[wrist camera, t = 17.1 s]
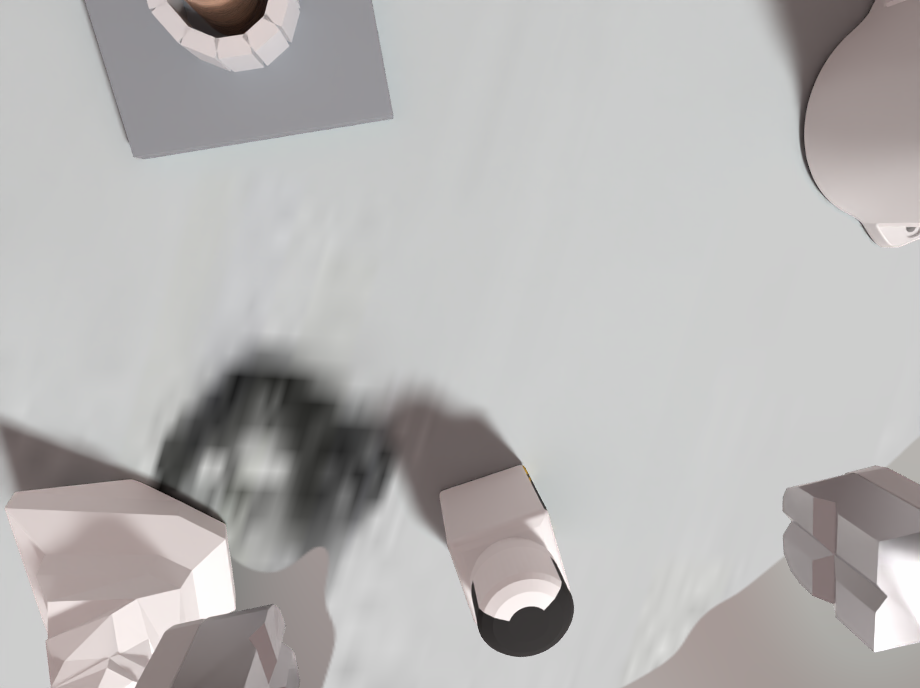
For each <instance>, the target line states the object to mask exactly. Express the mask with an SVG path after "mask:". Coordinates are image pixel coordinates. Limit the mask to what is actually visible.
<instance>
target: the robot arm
mask: <svg viewBox="0 0 920 688" xmlns="http://www.w3.org/2000/svg"><path fill="white" fill-rule="evenodd" d="M804 142H805V151H806V157H807V161H808V165H809V168H810V171H811V174H812V176H813V178H814V180H815V182H816V184H817V186H818V187H819V189H820V190H821V192H822V193H823V194H824V196H825V197H826V198H827V199H828V200H829V201H830V202H831V203H832V204H833V205H835V206H836V207H837V208H839V209H840V210H842V211H844V212H845V213H847V214H849V215H851V216H853V217H854V218H856V219H857V220H859V221H860V222H861V223H862V224H863V225H864V227H865V229H866V230H867V232H868V234H869V235H870V237H871V238H872V239H873V241H874V242H875V243H876V244H877V245H878V246H880V247H883V248H894V247H901V246H904V245H906V244H908V243H911V242H913V241H916V240H918V239H920V0H875V2H874V4H873V6H872V8H871V10H870V12H869V14H868V15H867V16H866V18H865V19H864V20H863V21H862V22H861V23H860V24H859V25H858V26H857V27H856V28H855V29H854V30H853V31H852V32H851V33H850V34H849V35H847V36H846V37H845V38H844V39H843V40H842V42H841V43H840V44H839V45H838V46H837V47H836V48H835V50H834V51H833V52H832V54H831V55H830V56H829V58H828V59H827V61H826V62H825V64H824V66H823V68H822V69H821V71H820V73H819V75H818V77H817V79H816V82H815V84H814V86H813V89H812V92H811V95H810V99H809V102H808V106H807V111H806V117H805V127H804ZM906 227H907V229H906ZM783 512H784V513H785V514H786V515H787V516H788V518H789V519H790V520H791V523H790V524H789V526H788V528H787V529H786V531H785V533H784V534H783V547H784V555H785V558H786V560H787V562H788V565H789V567H790V570H791V572H792V573H793V575H794V576H795V577H796V579H797V580H798V581H799V583H800V584H801V585H802V586H803V587H804V588H805V589H806V590H807V591H808V592H809V593H810V594H811V595H812V596H815V597H817V598H820V599H822V600H825V601H828V602H830V603H832V604H834V610H835V616H836V618H837V619H838V620H839V621H841V622H842V623H843V624H844V625H845V626H846V627H847V628H848V629H849V630H850V631H851V632H852V633H854V634H855V635H856V636H857V637H858V638H859V639H860V640H861V641H862V642H864V644H866V645H867V646H868V647H869V648H870V649H871V650H872V651H873V652H877V651H882V650H886V649H891V648H895V647H900V646H904V645H909V644H913V643H918V642H920V484H918V483H916V482H914V481H912V480H910V479H908V478H906V477H904V476H902V475H901V474H899V473H897V472H895V471H893V470H891V469H889V468H886V467H880V466H871V467H868V468H864V469H860V470H856V471H852V472H848V473H845V474H844V475H841V476H837V477H832V478H828V479H824V480H819V481H815V482H811V483H806V484H802V485H798V486H793V487H789V488H787V489H786V491H785V493H784V496H783ZM285 627H286V625H285V622H284V619H283V616H282V614H281V611H280V608H279V607H277V606H276V605H274V604H271V605H267V606H262V607H257V608H252V609H247V610H242V611H237V612H232V613H227V614H222V615H217V616H212V617H208V618H207V619H199V620H194V621H190V622H185V623H181V624H176V625H173V626H172V627H170V628H169V629H167V630H166V631H165V632H164V634H163V636H162V638H161V640H160V641H159V643H158V645H157V647H156V649H155V651H154V652H153V654H152V656H151V658H150V660H149V662H148V664H147V665H146V667H145V669H144V671H143V673H142V675H141V677H140V678H139V680H138V682H137V684H136V686H135V688H300V679H299V672H298V665H297V661H296V658H295V654H294V651H293V649H291V648H290V647H288V646H287V645H285V644H284V643H283V642H282V639H283V635H284V631H285Z"/></svg>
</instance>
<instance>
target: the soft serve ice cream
mask: <svg viewBox="0 0 920 688" xmlns="http://www.w3.org/2000/svg"><path fill="white" fill-rule="evenodd" d="M5 511H6V514H7V517H8V520H9V523H10V526H11V529H12V531H13V534H14V537H15V540H16V543H17V546H18V549H19V552H20V555H21V558H22V561H23V564H24V567H25V570H26V573H27V576H28V579H29V582H30V584H31V587H32V590H33V593H34V596H35V599H36V602H37V605H38V608H39V611H40V614H41V617H42V620H43V623H44V625H45V628H46V630H47V632H48V639H47V640H46V649H47V657H48V666H49V674H50V682H51V688H135V686H136V684H137V682H138V680H139V678H140V677H141V675H142V673H143V671H144V669H145V667H146V665H147V664H148V662H149V660H150V658H151V656H152V654H153V652H154V651H155V649H156V647H157V645H158V643H159V641H160V640H161V638H162V636H163V634H164V632H165V631H166V630H167V629H169V628H170V627H172V626H173V625H176V624H181V623H185V622H190V621H194V620H199V619H207V618H208V617H212V616H217V615H222V614H227V613H229V612H232V611H234V610H235V586H234V579H233V572H232V565H231V558H230V550H229V543H228V536H227V529H226V524H224V523H222V522H220V521H218V520H216V519H214V518H212V517H210V516H208V515H206V514H204V513H202V512H200V511H198V510H196V509H194V508H192V507H190V506H188V505H186V504H185V503H183V502H181V501H178V500H176V499H174V498H172V497H170V496H168V495H166V494H164V493H162V492H160V491H158V490H156V489H154V488H152V487H150V486H148V485H146V484H143V483H141V482H139V481H136V480H133V479H128V480H119V481H109V482H100V483H91V484H82V485H73V486H64V487H55V488H46V489H37V490H28V491H19V492H14V494H13V496H12V497H11V499H10V500H9V502H8V504H7V505H6V507H5Z"/></svg>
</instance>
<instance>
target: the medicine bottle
mask: <svg viewBox="0 0 920 688" xmlns="http://www.w3.org/2000/svg"><path fill="white" fill-rule="evenodd" d="M439 497H440V503H441V509H442V515H443V521H444V527H445V534H446V540H447V546H448V549H449V552H450V554H451V557H452V560H453V563H454V566H455V569H456V571H457V574H458V577H459V580H460V583H461V585H462V588H463V591H464V594H465V597H466V600H467V602H468V605H469V608H470V611H471V614H472V616H473V619H474V621H475V623H476V624H477V625H478V629H479V632H480V634H481V637H482V638H483V640H484V641H485V642H486V643H487V644H488V645H489V646H490V647H491V648H493V649H494V650H496V651H498V652H500V653H503V654H506V655H510V656H515V657H526V656H532V655H536V654H539V653H542V652H544V651H546V650H548V649H549V648H551V647H552V646H554V645H555V644H556V643H557V642H558V641H559V640H560V639H561V638H562V637H563V636H564V634H565V633H566V631H567V630H568V628H569V626H570V624H571V621H572V618H573V613H574V604H573V599H572V596H571V593H570V587H569V584H568V580H567V577H566V573H565V570H564V566H563V563H562V559H561V556H560V552H559V549H558V545H557V542H556V538H555V535H554V531H553V528H552V524H551V521H550V517H549V514H548V511H547V509H546V507H545V505H544V503H543V501H542V499H541V497H540V496H539V494H538V492H537V490H536V488H535V486H534V484H533V482H532V480H531V478H530V476H529V474H528V472H527V470H526V468H525V467H524V466H523V465H518V466H515V467H512V468H509V469H506V470H503V471H500V472H497V473H494V474H491V475H488V476H485V477H482V478H479V479H476V480H473V481H470V482H467V483H464V484H461V485H458V486H455V487H452V488H449V489H446V490H443V491H441V492H440V494H439Z"/></svg>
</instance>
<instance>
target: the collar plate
mask: <svg viewBox="0 0 920 688" xmlns="http://www.w3.org/2000/svg"><path fill="white" fill-rule="evenodd" d="M85 4H86V7H87V10H88V13H89V16H90V19H91V23H92V26H93V29H94V32H95V35H96V39H97V42H98V45H99V48H100V51H101V55H102V58H103V61H104V64H105V67H106V71H107V74H108V77H109V80H110V83H111V87H112V90H113V93H114V96H115V99H116V102H117V106H118V109H119V112H120V115H121V118H122V122H123V125H124V128H125V131H126V134H127V138H128V141H129V144H130V147H131V150H132V154H133V157H137V158H142V159H148V158H154V157H160V156H166V155H172V154H178V153H185V152H191V151H197V150H203V149H209V148H215V147H221V146H228V145H234V144H240V143H246V142H252V141H258V140H264V139H271V138H277V137H283V136H289V135H295V134H301V133H307V132H314V131H320V130H326V129H332V128H338V127H344V126H350V125H357V124H363V123H369V122H375V121H381V120H387V119H393V111H392V106H391V100H390V95H389V90H388V84H387V79H386V74H385V68H384V63H383V58H382V52H381V47H380V42H379V36H378V31H377V26H376V20H375V15H374V10H373V4H372V0H268V3H267V7H266V11H265V14H264V16H263V17H262V18H261V19H260V20H259V21H258V22H257V23H256V24H255V25H254V26H252V27H251V28H250V29H249V30H248V31H247V32H246V33H245V34H242V35H235V36H226V35H223V34H221V33H219V32H218V31H216V30H214V29H213V28H212V27H211V26H210V25H209V24H208V23H207V22H206V21H205V20H204V19H203V18H202V17H201V16H200V15H199V14H198V13H197V12H196V11H195V10H194V9H193V8H192V7H191V6H190V5H189V4H188V3H187V2H186V1H185V0H85Z"/></svg>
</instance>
